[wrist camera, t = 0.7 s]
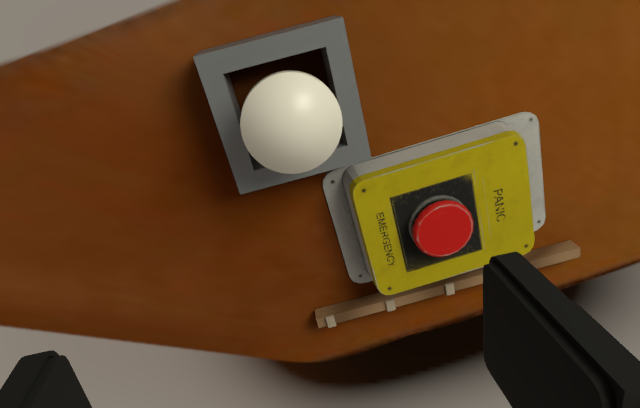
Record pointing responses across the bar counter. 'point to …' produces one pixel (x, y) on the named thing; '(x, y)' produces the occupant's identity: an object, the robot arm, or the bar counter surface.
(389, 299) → the rail
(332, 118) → the plunger
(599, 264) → the bar counter surface
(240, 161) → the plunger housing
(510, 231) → the emergency button
